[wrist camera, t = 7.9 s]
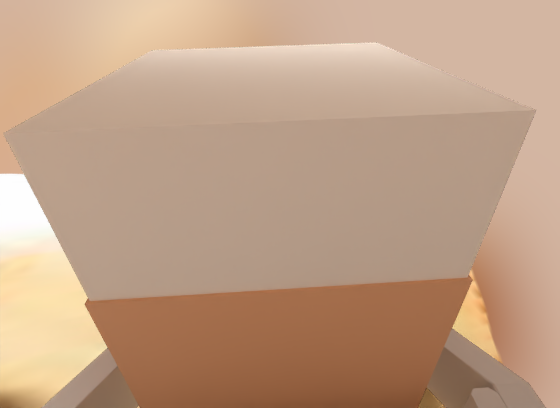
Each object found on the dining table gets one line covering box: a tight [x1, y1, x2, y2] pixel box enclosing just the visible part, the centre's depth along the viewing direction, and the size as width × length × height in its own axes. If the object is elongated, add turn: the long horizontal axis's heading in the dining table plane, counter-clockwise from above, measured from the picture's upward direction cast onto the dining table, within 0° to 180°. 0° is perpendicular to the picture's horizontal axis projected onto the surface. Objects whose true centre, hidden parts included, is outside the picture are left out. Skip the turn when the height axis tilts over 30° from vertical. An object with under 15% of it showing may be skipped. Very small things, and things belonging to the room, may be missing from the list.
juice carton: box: [4, 42, 536, 408], centre depth 10 cm, size 6×6×16 cm
